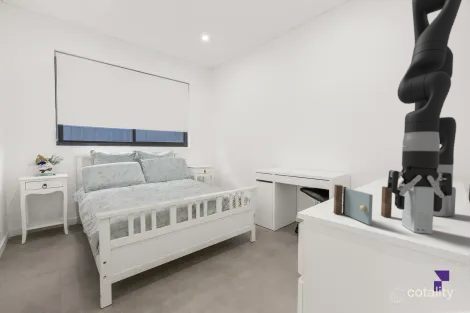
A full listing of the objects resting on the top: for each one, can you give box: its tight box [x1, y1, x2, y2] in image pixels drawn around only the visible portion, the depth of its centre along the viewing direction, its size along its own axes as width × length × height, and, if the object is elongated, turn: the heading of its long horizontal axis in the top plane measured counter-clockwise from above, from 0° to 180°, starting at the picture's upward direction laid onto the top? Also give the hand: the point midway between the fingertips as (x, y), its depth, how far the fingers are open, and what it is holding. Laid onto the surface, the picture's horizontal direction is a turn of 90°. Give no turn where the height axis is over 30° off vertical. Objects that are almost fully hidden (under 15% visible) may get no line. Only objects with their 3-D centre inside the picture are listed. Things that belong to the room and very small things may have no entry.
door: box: [344, 187, 374, 226], centre depth 65 cm, size 10×2×8 cm, turn 8°
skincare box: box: [401, 186, 434, 235], centre depth 58 cm, size 6×4×12 cm
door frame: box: [333, 184, 393, 218], centre depth 70 cm, size 17×2×10 cm, turn 82°
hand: (417, 210), depth 57 cm, fingers open, 8 cm apart
